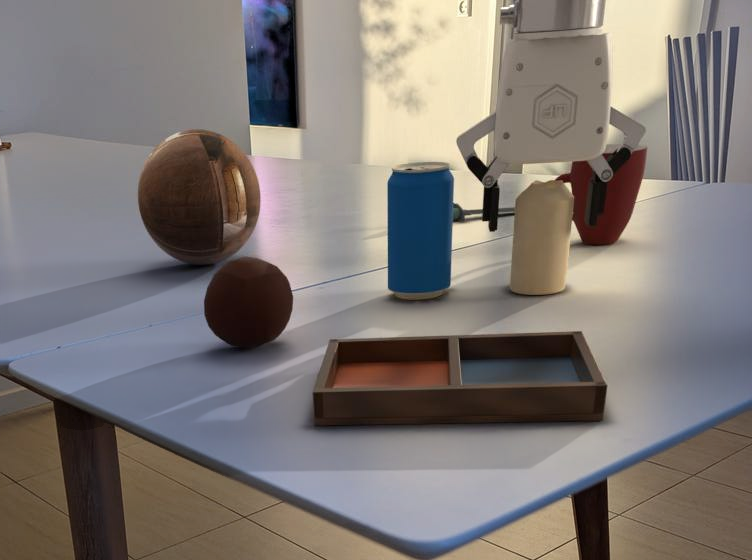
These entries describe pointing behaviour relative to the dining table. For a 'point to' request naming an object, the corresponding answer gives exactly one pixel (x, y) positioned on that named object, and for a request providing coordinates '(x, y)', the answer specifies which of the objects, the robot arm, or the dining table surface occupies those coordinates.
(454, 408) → the sorting tray
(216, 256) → the brown shiny sphere
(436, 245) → the beverage can
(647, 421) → the dining table surface
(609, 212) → the mug
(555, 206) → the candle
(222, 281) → the dark brown ball
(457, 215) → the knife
